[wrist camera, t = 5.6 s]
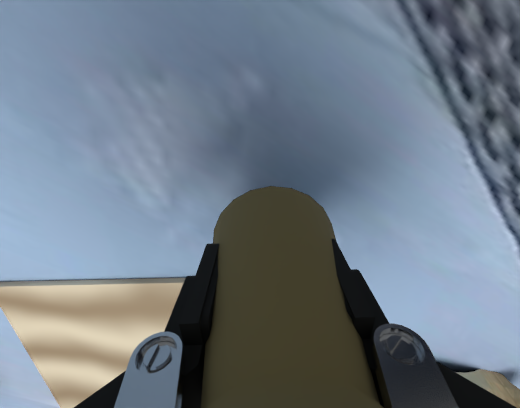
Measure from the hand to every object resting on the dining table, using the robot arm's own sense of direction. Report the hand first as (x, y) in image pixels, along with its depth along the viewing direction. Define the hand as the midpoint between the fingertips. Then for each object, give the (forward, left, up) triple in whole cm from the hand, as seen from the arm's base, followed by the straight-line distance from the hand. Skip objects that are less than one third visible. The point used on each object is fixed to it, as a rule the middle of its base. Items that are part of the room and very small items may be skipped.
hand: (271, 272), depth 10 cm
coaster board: (+15, -14, -8) cm, 22 cm away
